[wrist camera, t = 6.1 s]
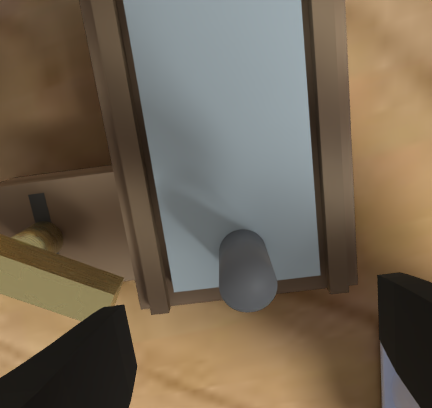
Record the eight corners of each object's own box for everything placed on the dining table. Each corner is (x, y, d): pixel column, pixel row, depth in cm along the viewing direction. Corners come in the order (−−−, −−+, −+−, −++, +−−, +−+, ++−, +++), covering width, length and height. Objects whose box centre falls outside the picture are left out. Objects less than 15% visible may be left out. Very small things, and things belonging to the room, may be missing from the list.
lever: (137, 254, 16) (114, 293, 13) (126, 285, 17) (101, 331, 13) (-44, 189, 16) (-121, 211, 12) (-52, 222, 16) (-127, 254, 13)
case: (337, 259, 20) (362, 290, 16) (44, 293, 20) (8, 331, 17) (320, -35, 16) (347, -75, 13) (-29, 18, 17) (-92, -6, 14)
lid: (316, 269, 17) (344, 314, 13) (175, 286, 17) (163, 335, 13) (295, -29, 14) (322, -81, 10) (125, -4, 14) (92, -45, 10)
